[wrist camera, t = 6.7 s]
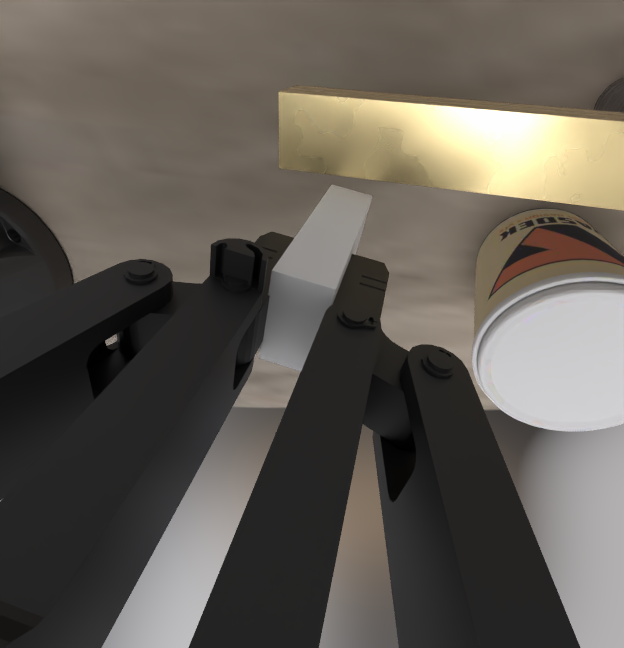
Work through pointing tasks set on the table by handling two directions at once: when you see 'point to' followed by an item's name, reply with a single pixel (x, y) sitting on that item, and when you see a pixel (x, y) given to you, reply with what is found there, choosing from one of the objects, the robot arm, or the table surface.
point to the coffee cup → (550, 322)
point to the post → (612, 98)
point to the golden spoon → (456, 144)
